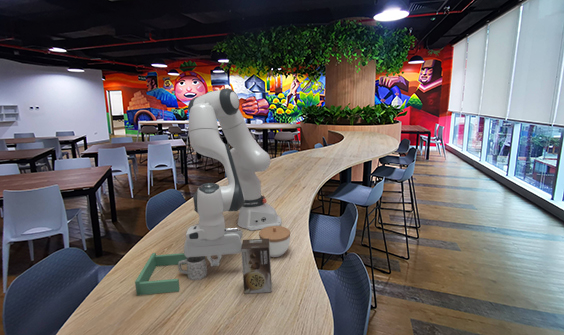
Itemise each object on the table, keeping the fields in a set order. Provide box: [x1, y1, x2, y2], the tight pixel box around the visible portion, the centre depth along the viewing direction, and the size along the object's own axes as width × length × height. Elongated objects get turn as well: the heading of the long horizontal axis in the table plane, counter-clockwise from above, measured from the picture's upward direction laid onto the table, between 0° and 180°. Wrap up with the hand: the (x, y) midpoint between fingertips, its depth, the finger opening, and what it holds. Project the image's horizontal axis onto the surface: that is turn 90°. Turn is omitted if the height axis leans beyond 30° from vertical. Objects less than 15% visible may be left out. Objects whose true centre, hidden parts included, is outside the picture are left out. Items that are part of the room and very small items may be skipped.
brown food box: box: [240, 238, 273, 294], centre depth 96 cm, size 9×6×16 cm
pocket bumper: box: [134, 252, 187, 296], centre depth 104 cm, size 13×18×5 cm
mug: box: [177, 256, 208, 281], centre depth 105 cm, size 10×7×7 cm, turn 89°
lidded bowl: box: [258, 225, 291, 258], centre depth 119 cm, size 13×13×11 cm
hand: (215, 265), depth 106 cm, fingers closed
